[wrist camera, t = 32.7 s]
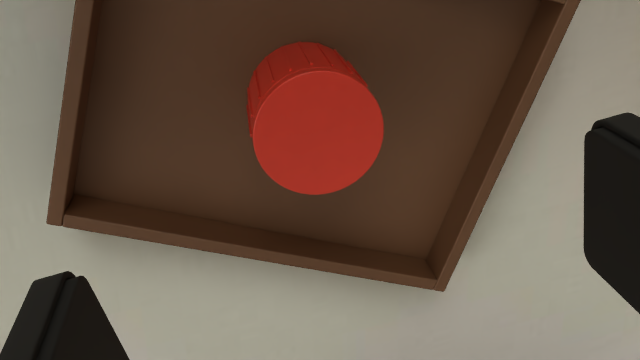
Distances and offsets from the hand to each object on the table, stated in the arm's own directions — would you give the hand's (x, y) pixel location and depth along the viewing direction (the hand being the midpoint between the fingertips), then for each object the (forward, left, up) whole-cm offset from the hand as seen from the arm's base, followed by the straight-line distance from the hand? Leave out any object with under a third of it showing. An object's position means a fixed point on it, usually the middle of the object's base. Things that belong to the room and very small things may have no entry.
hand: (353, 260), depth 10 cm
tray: (+1, 0, -11) cm, 11 cm away
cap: (0, 0, -11) cm, 11 cm away
